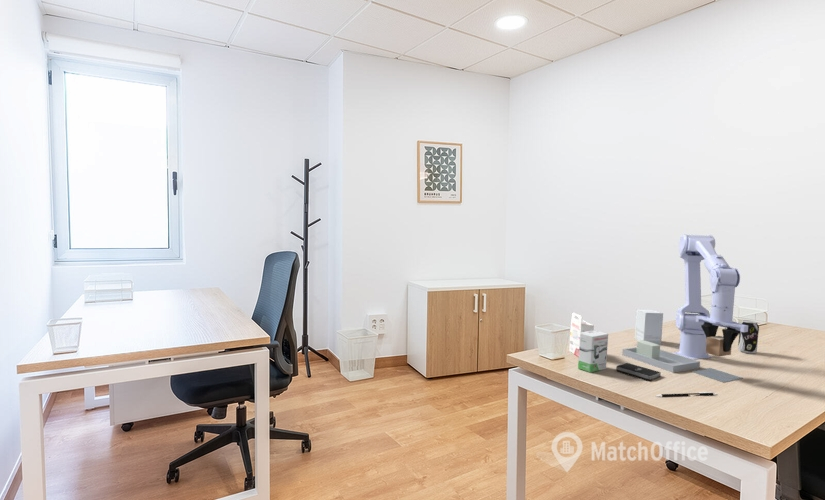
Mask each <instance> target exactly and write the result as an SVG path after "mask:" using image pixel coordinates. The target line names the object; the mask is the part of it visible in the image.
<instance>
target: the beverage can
mask: <svg viewBox="0 0 825 500" xmlns="http://www.w3.org/2000/svg"><path fill="white" fill-rule="evenodd" d="M740 324H743V325H748V332H741V331H740V333H739V335H738V344H737V346H738V347H737V349H738V351H740V352H741V353H744V354H749V355H753V354H756V353H757V352H758V342H759V332H760V326H759V324H758V321H756V320H755V321H754V320H751V319H750V320H749V319H742V320H741V322H740Z"/></svg>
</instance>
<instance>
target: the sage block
mask: <svg viewBox="0 0 825 500" xmlns="http://www.w3.org/2000/svg"><path fill="white" fill-rule="evenodd" d="M636 347H637V353H638V354H641V355H644V356H647V357H650V358H653V359H656V360H657V359H659V357H660V350H661V344H655V343H651V342H648V341H638V340H637V342H636Z"/></svg>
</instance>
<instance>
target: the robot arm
mask: <svg viewBox="0 0 825 500" xmlns="http://www.w3.org/2000/svg"><path fill="white" fill-rule="evenodd" d="M678 243H679V244H678V247H679V248H678V252H679V254H678V255H679V258H681V259H682V260H683V262H684V263H683V264H684V287H685V288H684V291H685V298H684V299H685V304H683V305H682V306H681V307H679V308H678V309H677V311H676V316H675V325H676V328H677V329H678V330H679V331H680V334H679V336H680V337H679V349H678V351H674V352H673V354H677V355H680V356H683V357H686V358H690V359H693V360H696V361H697V360H701V359H708V358H710V359H711V358H712V356H711V355H710V354H708V353H706V342H707V337H713V336H717V333H718V330H719V327H721V328H723V329H722V330H721V331H722V337H723V338H724V343H723V351H724V352H729V351H730V348H731V349H732V347H731V346H732V345H733V344H734V342H735V340H736V338H737V337H739V333H740V331H741V332H748V325H743V324H741V322H736V321H733V317H734V305H735V293H736V288H737V287H739V285H740V282H741V275H740V271H739V270H738V268H734V267H731V266H730V265H729V263H728V262H727V261H726V259H725V258H724V256H723V255H721V254H718V253H717V251H716V249H715V247H716V239H715V237H714V236H713V235H712V234H710V235H699V234H698V235H697V234H695V235H694V234H682V235H681V237H680V239H679V241H678ZM703 260H704V261H703ZM702 261H703V264H704V267H705V269H706V270H707V272H708V273H709V283H710V290H711V303H710V305H711V306H710V310H708V309H707V308H706V307H704V306H703V305H702V284H701V283H702V282H701V280H702V278H701V262H702Z"/></svg>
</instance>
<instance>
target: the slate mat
mask: <svg viewBox="0 0 825 500" xmlns="http://www.w3.org/2000/svg"><path fill="white" fill-rule="evenodd" d="M690 373H694V374H696V375H699V376H702V377H704V378H709V379H712V380H714V381H717V382H721V383H722V384H724V383H728V382H733V381H738V380H742V379H744V378H743V377H741V376H738V375H735V374H731V373H729V372H724V371H723V370H720V369H719V370H718V369H715V368H713V367H709V368H708V367H707V368H702V369H694V370H690Z"/></svg>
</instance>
